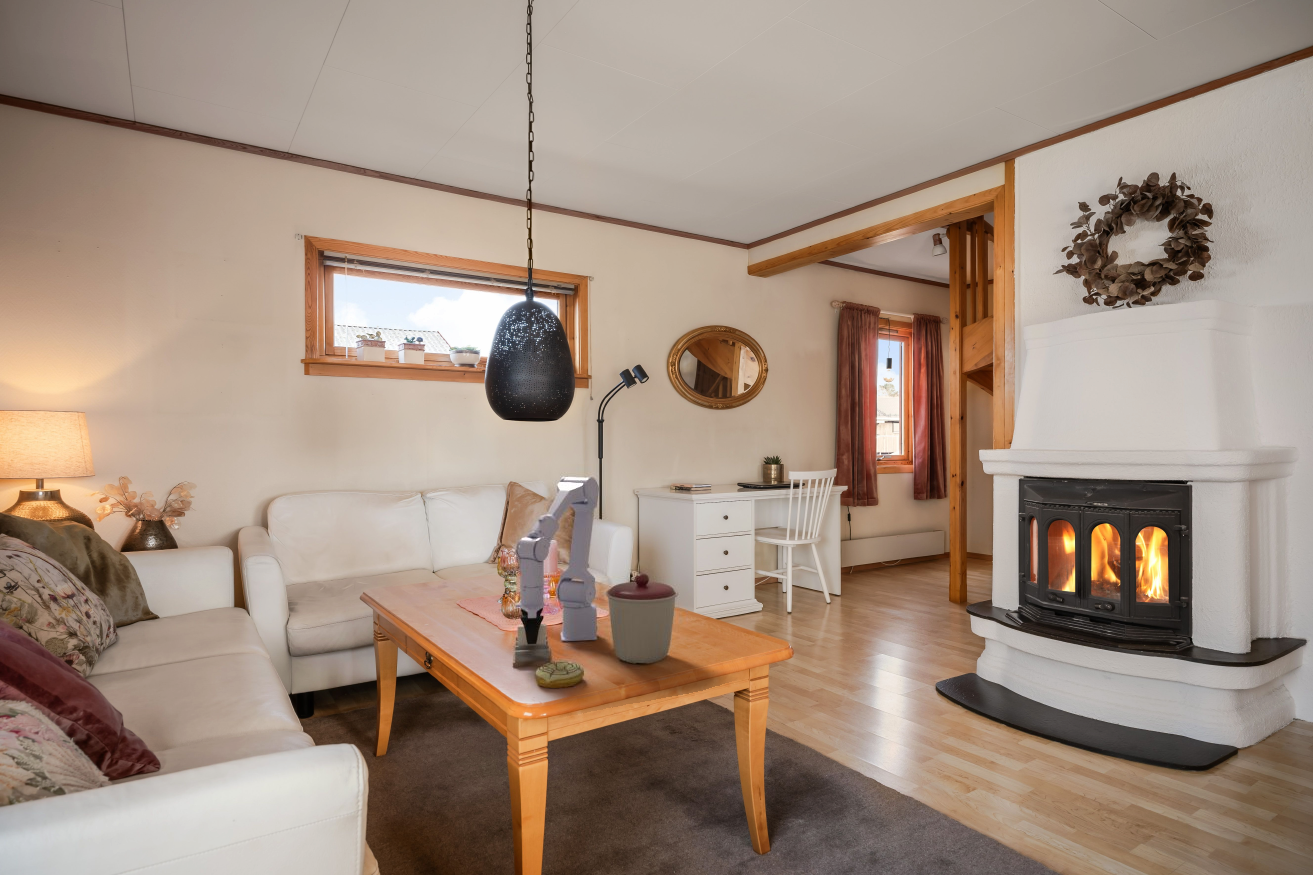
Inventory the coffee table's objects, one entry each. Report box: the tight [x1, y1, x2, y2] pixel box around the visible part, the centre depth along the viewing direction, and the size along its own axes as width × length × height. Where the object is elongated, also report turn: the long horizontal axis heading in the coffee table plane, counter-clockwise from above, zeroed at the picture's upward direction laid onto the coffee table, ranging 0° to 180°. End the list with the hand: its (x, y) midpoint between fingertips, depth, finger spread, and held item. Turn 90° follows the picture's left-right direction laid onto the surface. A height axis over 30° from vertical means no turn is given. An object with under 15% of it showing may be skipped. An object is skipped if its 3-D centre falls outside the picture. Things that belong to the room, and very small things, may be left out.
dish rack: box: [512, 635, 552, 668], centre depth 179 cm, size 9×14×4 cm, turn 10°
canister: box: [605, 573, 679, 664], centre depth 179 cm, size 18×18×21 cm
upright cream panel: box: [517, 623, 547, 646], centre depth 179 cm, size 7×2×7 cm, turn 100°
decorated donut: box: [534, 660, 585, 689], centre depth 161 cm, size 10×11×4 cm
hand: (531, 639), depth 179 cm, fingers open, 6 cm apart
